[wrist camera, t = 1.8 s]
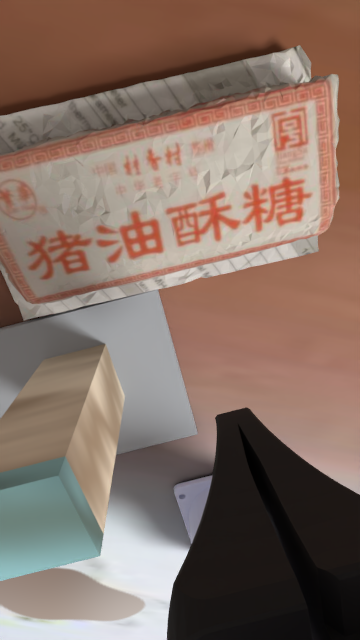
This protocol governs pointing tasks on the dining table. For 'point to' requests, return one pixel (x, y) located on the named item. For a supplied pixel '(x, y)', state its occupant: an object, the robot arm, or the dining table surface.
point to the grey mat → (127, 357)
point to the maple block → (58, 462)
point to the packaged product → (166, 182)
